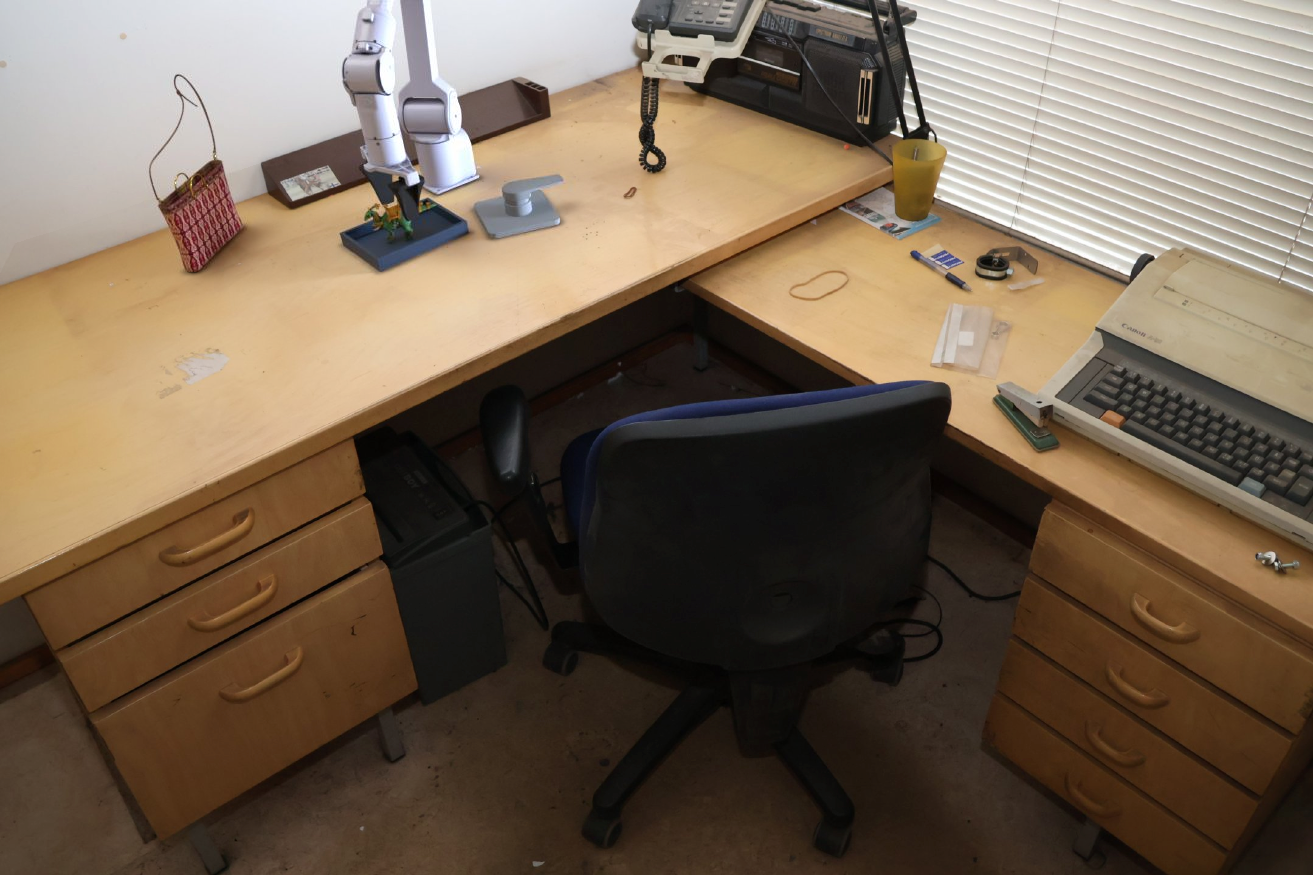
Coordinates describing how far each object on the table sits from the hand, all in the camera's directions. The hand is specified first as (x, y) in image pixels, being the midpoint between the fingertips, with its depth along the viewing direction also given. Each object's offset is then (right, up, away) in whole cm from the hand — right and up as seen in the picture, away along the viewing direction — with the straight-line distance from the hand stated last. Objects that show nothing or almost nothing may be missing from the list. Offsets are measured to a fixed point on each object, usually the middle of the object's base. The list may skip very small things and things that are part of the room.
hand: (400, 211), depth 165 cm
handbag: (-33, -4, +5) cm, 34 cm away
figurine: (0, -4, +3) cm, 5 cm away
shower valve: (+19, +1, +8) cm, 21 cm away
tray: (0, -4, +3) cm, 5 cm away
